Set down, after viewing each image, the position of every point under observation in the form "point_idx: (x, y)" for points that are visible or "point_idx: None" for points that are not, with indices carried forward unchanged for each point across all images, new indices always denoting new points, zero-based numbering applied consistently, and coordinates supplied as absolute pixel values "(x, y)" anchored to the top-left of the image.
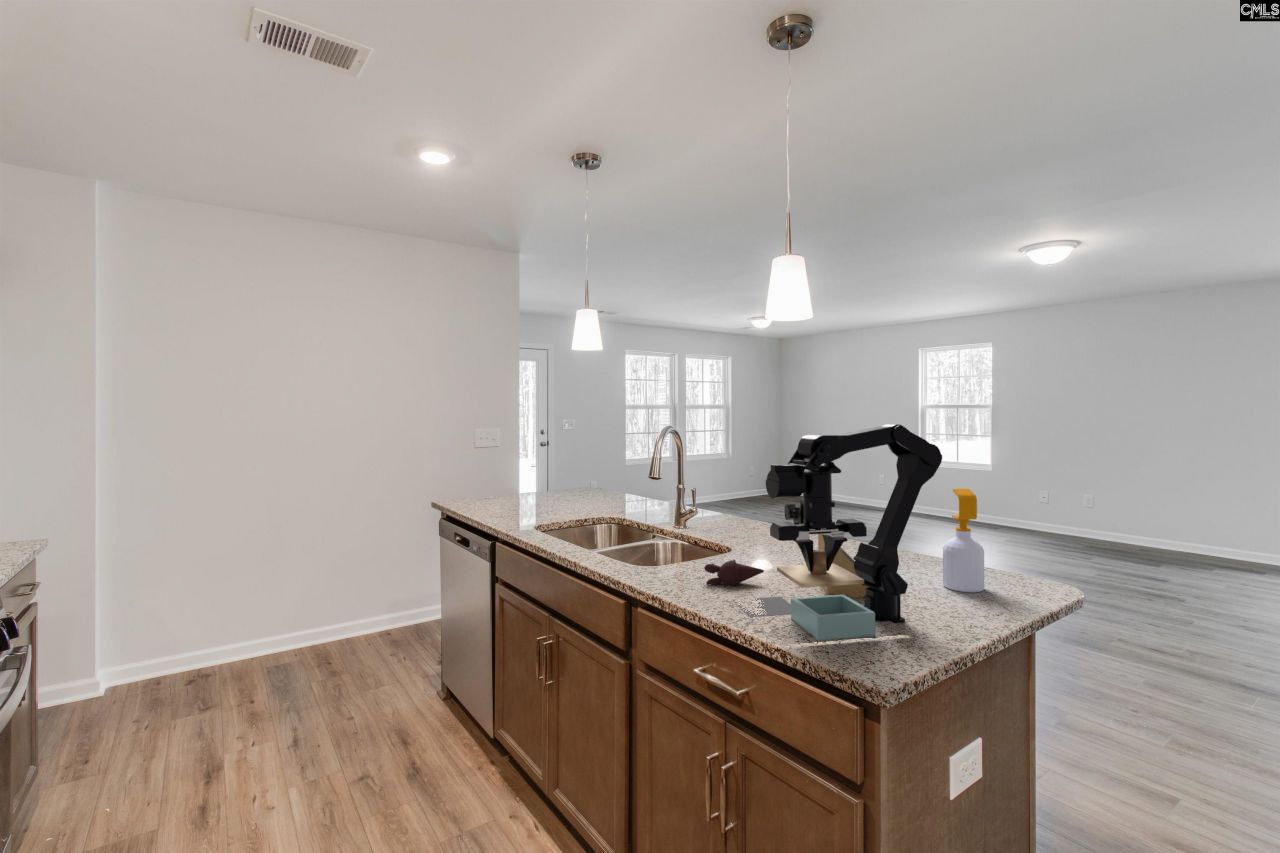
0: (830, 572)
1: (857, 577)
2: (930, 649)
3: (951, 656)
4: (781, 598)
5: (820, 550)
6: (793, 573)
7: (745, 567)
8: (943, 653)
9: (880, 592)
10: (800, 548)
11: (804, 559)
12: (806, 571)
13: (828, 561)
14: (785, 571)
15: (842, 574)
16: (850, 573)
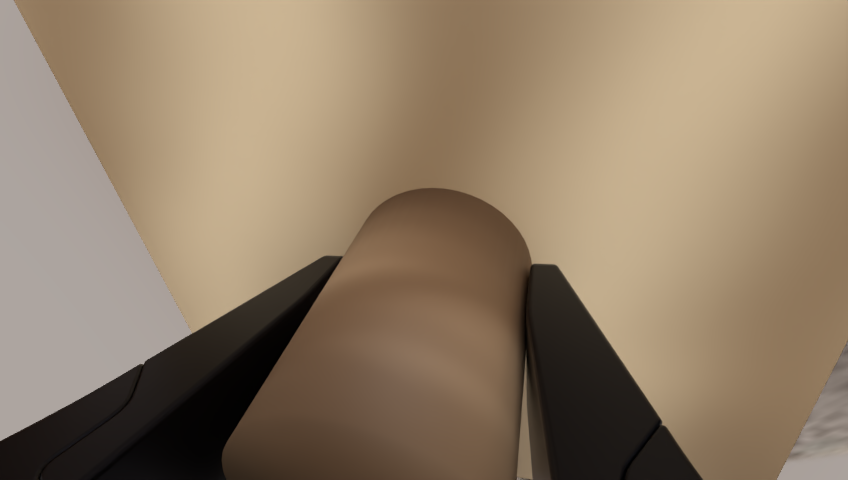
0: (588, 280)
1: (753, 466)
2: (828, 398)
3: (844, 448)
4: None
5: (437, 477)
6: (190, 224)
7: None
8: (842, 429)
9: None
10: (14, 464)
11: (213, 330)
12: (324, 190)
13: (530, 442)
14: (106, 143)
15: (676, 368)
16: (804, 366)
